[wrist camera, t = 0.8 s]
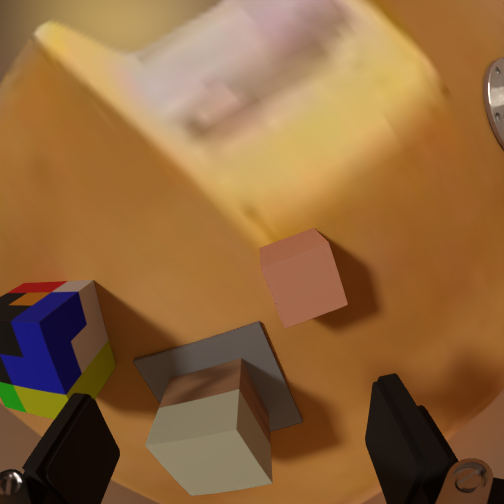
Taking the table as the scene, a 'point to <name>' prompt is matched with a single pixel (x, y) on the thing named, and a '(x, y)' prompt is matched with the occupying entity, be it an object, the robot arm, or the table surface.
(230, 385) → the tower base
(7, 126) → the table surface
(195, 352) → the mat
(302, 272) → the terracotta block
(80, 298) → the puzzle toy
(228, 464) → the tower top
